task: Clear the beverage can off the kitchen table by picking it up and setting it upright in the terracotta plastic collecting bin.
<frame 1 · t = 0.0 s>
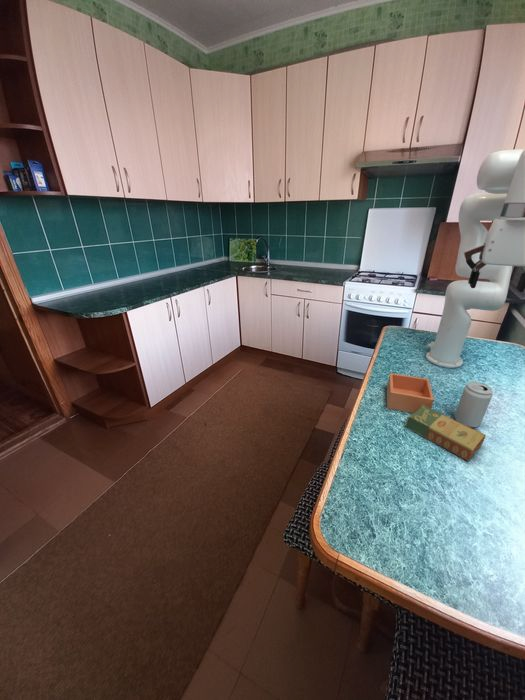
hand: (495, 288, 72), 37 cm above the table, tool pointing down, fingers open, 9 cm apart
bin: (406, 400, 92), on the table
carton: (441, 436, 79), on the table
beverage can: (466, 422, 83), on the table
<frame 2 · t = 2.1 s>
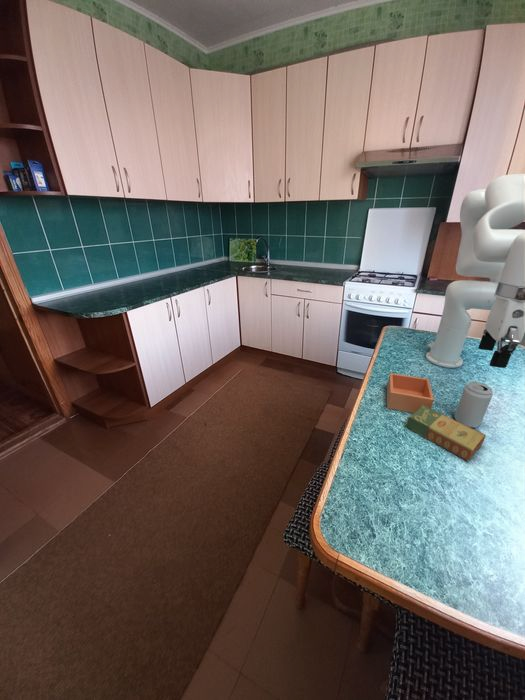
hand: (490, 357, 74), 21 cm above the table, tool pointing down, fingers open, 9 cm apart
nothing on the table moved.
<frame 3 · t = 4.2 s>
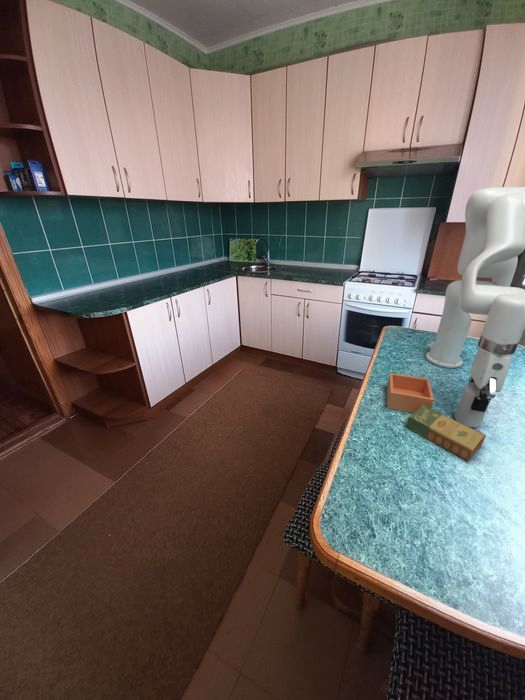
hand: (474, 402, 80), 7 cm above the table, tool pointing down, fingers closed on beverage can, 6 cm apart
beverage can: (466, 422, 83), on the table, touching gripper
everything else where it was.
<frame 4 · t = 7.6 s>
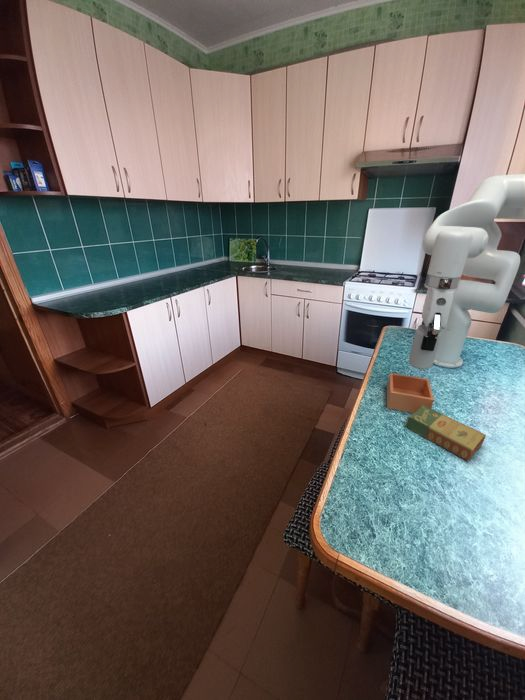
hand: (425, 344, 82), 21 cm above the table, tool pointing down, fingers closed on beverage can, 6 cm apart
beverage can: (419, 365, 86), point 13 cm above the table, touching gripper
everything else where it was.
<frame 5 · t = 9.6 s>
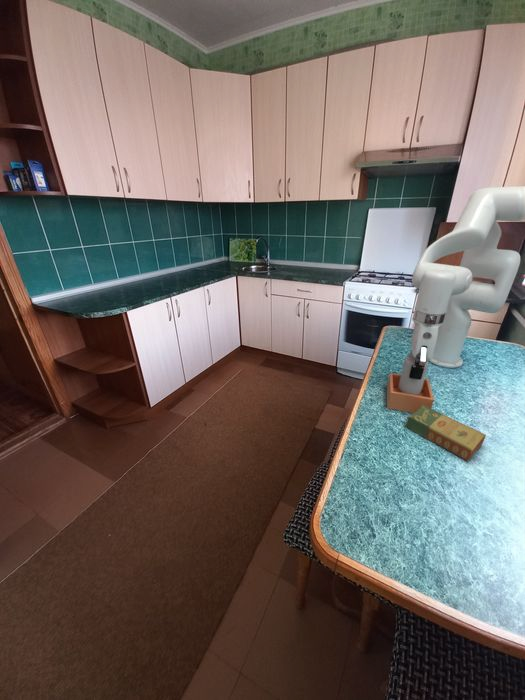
hand: (413, 371, 87), 11 cm above the table, tool pointing down, fingers closed on beverage can, 6 cm apart
beverage can: (408, 391, 91), point 4 cm above the table, touching gripper
everything else where it was.
when the fingers open (8 cm above the table, at t = 11.0 s): beverage can stays where it is, resting on bin.
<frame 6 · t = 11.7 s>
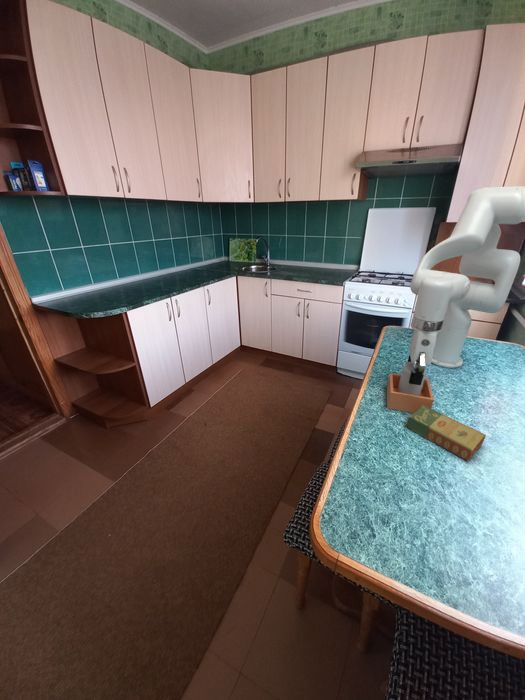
hand: (413, 375, 88), 10 cm above the table, tool pointing down, fingers open, 9 cm apart
beverage can: (406, 398, 92), point 1 cm above the table, touching bin
everything else where it was.
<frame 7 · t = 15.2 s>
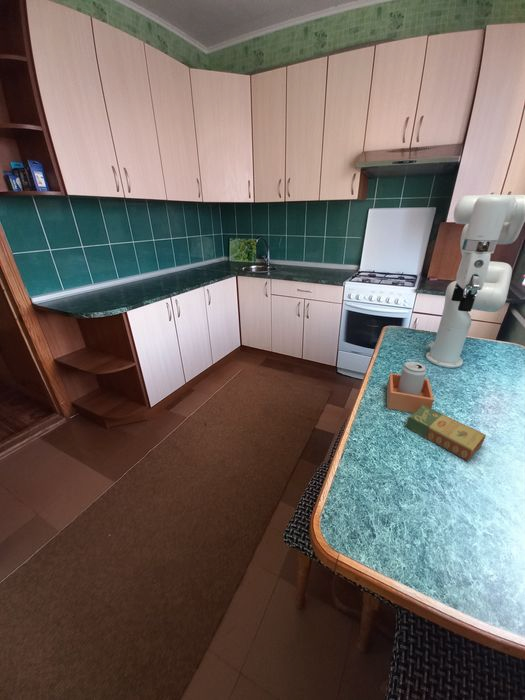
hand: (460, 305, 88), 28 cm above the table, tool pointing down, fingers open, 9 cm apart
nothing on the table moved.
at the end: beverage can inside the target area in the bin (0.0 cm from its centre), point 0.8 cm above the bin's base; beverage can tilted 0°; the gripper is holding nothing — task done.
